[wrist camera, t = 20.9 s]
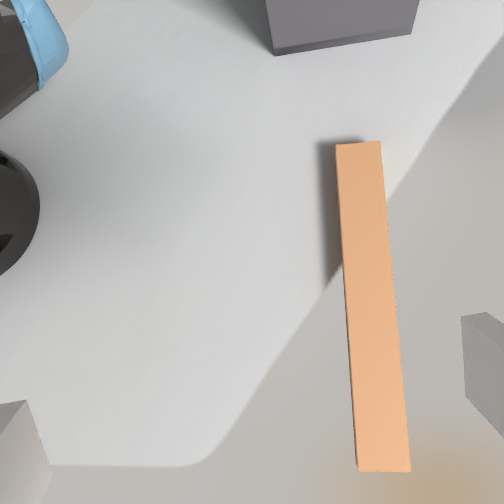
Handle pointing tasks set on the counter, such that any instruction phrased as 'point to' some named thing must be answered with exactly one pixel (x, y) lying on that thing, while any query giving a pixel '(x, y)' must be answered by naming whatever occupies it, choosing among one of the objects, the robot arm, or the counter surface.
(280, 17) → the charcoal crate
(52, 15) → the robot arm
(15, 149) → the counter surface
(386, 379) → the slat
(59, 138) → the counter surface
